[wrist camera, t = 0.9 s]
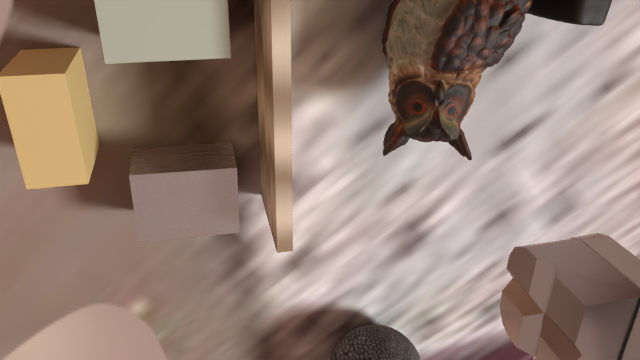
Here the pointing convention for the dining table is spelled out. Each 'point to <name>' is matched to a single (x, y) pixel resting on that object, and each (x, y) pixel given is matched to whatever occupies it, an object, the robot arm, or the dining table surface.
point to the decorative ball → (374, 345)
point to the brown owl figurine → (455, 57)
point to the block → (184, 191)
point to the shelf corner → (275, 115)
